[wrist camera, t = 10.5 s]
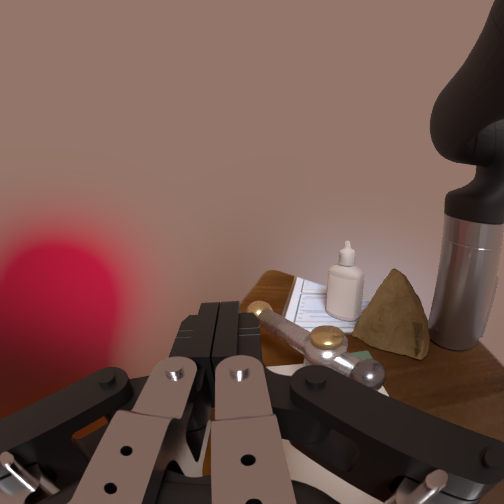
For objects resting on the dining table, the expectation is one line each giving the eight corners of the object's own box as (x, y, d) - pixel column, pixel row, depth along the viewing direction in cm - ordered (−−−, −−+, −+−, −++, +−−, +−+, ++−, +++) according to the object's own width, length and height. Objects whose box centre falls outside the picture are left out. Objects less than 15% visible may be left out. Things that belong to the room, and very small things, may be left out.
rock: (451, 339, 27) (414, 299, 37) (441, 302, 24) (396, 262, 33) (386, 391, 29) (359, 343, 39) (364, 365, 26) (334, 313, 35)
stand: (361, 371, 29) (367, 337, 27) (422, 495, 11) (448, 467, 10) (241, 384, 29) (237, 350, 27) (240, 534, 11) (233, 517, 10)
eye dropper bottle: (339, 326, 39) (345, 248, 36) (323, 310, 44) (325, 238, 41) (363, 319, 40) (370, 244, 37) (345, 305, 45) (349, 236, 42)
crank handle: (381, 411, 17) (399, 352, 16) (355, 435, 15) (373, 377, 14) (265, 338, 29) (264, 288, 28) (240, 349, 28) (236, 297, 26)
